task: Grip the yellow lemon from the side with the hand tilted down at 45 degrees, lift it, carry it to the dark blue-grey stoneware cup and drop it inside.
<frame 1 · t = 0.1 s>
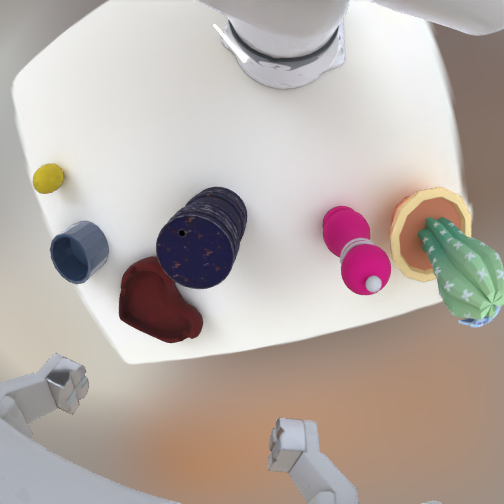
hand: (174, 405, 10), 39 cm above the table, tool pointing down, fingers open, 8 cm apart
lemon: (61, 173, 47), on the table
ashtray: (157, 296, 56), on the table
dark blue barrel: (218, 215, 48), on the table
pepper mill: (340, 223, 46), on the table
potted cactus: (414, 219, 45), on the table
cup: (88, 244, 52), on the table
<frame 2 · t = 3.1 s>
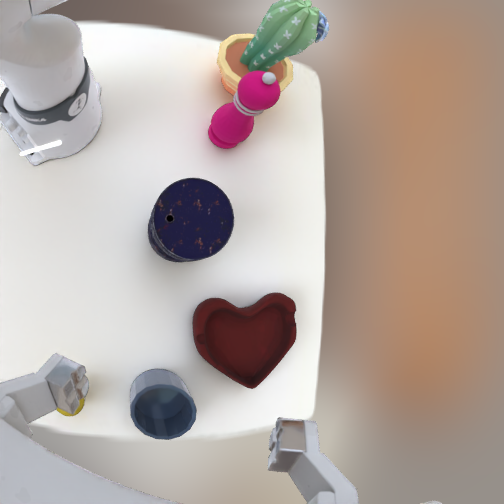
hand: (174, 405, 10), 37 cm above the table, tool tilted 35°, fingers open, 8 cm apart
lemon: (72, 388, 38), on the table
ashtray: (240, 338, 50), on the table
dark blue barrel: (176, 232, 47), on the table
pepper mill: (224, 134, 51), on the table
potted cactus: (241, 82, 53), on the table
cup: (159, 395, 44), on the table
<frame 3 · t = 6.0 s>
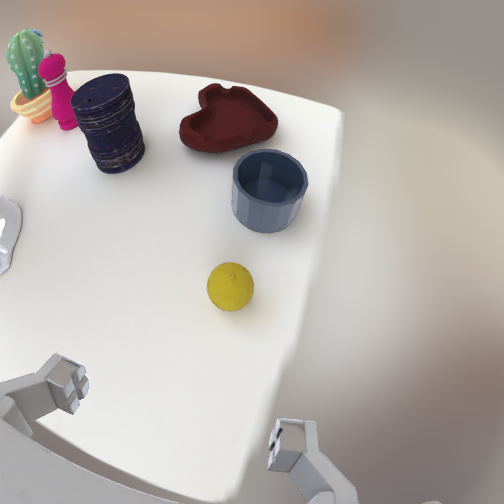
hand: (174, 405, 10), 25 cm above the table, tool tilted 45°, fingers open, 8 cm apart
lemon: (229, 297, 38), on the table
ashtray: (232, 130, 52), on the table
dark blue barrel: (120, 154, 48), on the table
pepper mill: (72, 121, 51), on the table
potted cactus: (45, 112, 53), on the table
cup: (264, 204, 45), on the table
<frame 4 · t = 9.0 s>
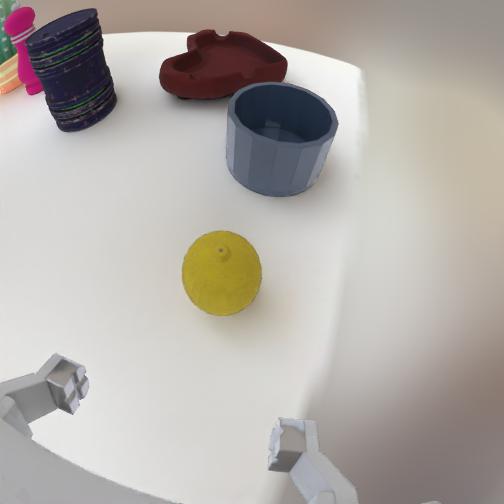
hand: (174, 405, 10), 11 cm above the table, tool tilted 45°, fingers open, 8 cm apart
lemon: (222, 292, 24), on the table
ashtray: (228, 79, 38), on the table
dark blue barrel: (86, 110, 33), on the table
pepper mill: (41, 86, 37), on the table
potted cactus: (17, 81, 39), on the table
cup: (273, 159, 31), on the table
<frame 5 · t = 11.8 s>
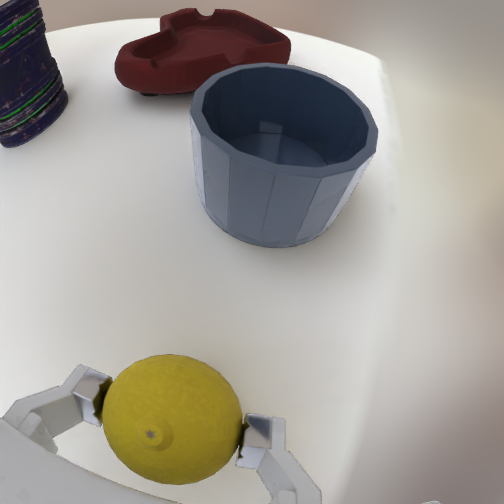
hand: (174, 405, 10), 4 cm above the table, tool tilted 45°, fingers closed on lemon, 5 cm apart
lemon: (187, 409, 14), on the table, touching gripper
ashtray: (212, 68, 27), on the table
dark blue barrel: (33, 118, 23), on the table
cup: (271, 183, 20), on the table
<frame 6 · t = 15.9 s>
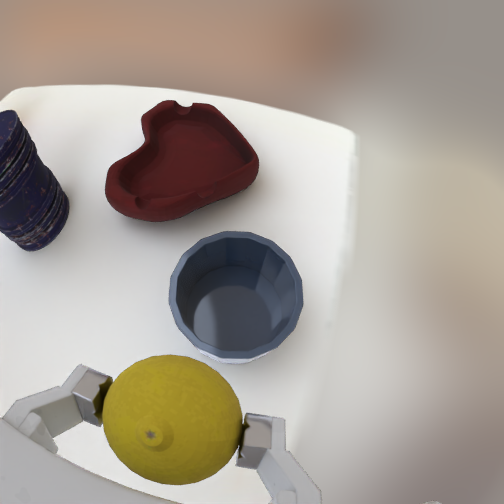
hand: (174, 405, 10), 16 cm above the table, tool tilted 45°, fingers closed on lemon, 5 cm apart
lemon: (187, 409, 14), point 12 cm above the table, touching gripper
ashtray: (191, 174, 35), on the table
dark blue barrel: (40, 218, 31), on the table
cup: (234, 312, 28), on the table
when the fingers open (8 cm above the table, at t = 20.2 s): lemon drops 3 cm, resting on cup.
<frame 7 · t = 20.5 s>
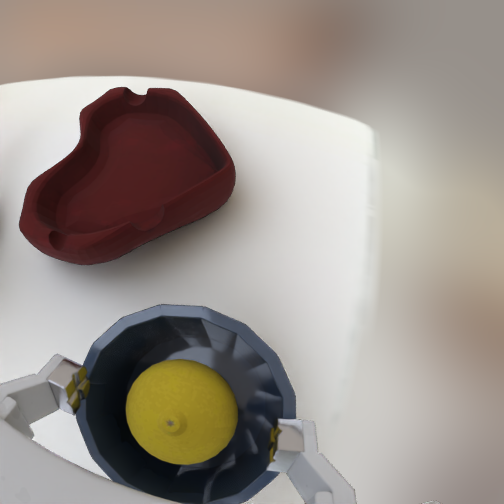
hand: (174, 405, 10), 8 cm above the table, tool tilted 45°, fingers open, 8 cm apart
lemon: (190, 403, 17), point 1 cm above the table, touching cup
ashtray: (143, 189, 24), on the table
cup: (195, 403, 17), on the table
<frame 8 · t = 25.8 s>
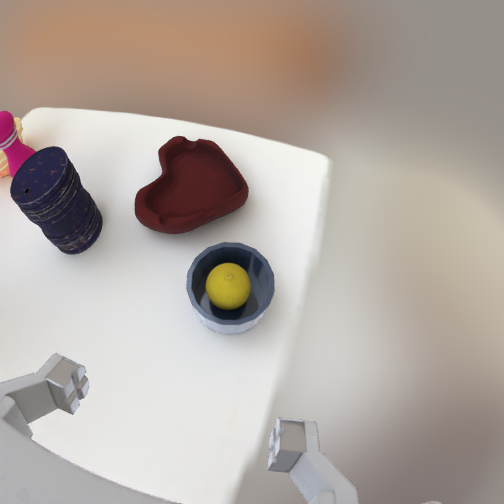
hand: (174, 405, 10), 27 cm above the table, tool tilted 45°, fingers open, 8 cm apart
lemon: (227, 296, 40), point 1 cm above the table, touching cup
ashtray: (198, 196, 47), on the table
dark blue barrel: (78, 229, 43), on the table
pepper mill: (34, 179, 46), on the table
potted cactus: (10, 162, 48), on the table
cup: (229, 298, 40), on the table
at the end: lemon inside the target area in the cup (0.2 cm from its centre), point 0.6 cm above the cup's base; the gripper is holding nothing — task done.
